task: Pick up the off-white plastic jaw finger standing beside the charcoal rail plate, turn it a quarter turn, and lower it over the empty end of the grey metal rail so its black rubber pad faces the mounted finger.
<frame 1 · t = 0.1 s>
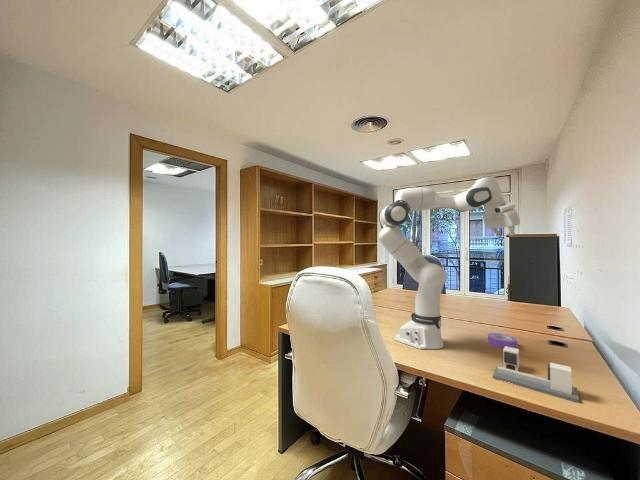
hand: (505, 235, 126), 52 cm above the table, tool tilted 20°, fingers open, 8 cm apart
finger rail: (532, 384, 89), on the table
masking tape: (502, 345, 125), on the table
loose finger: (511, 367, 102), on the table
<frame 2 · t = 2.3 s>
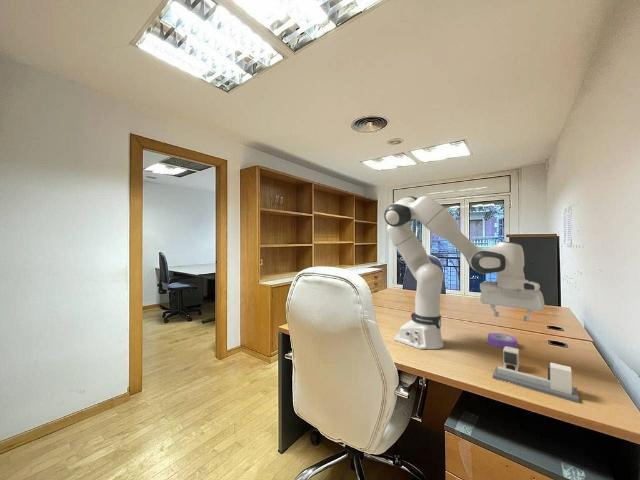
hand: (510, 318, 102), 19 cm above the table, tool pointing down, fingers open, 8 cm apart
nothing on the table moved.
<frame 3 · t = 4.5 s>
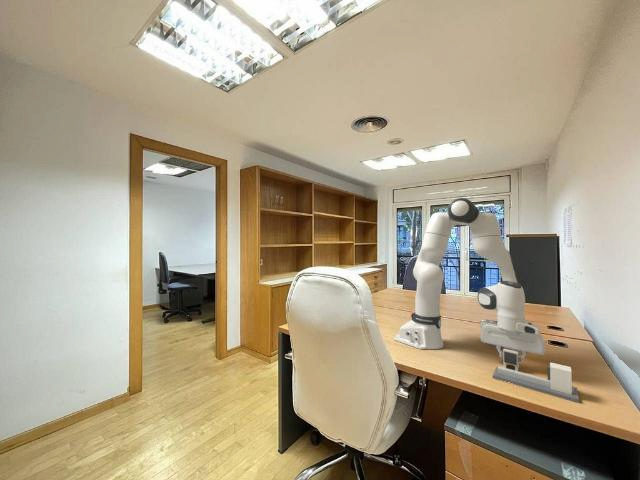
hand: (511, 359, 102), 3 cm above the table, tool pointing down, fingers closed on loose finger, 4 cm apart
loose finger: (511, 367, 102), on the table, touching gripper
everything else where it was.
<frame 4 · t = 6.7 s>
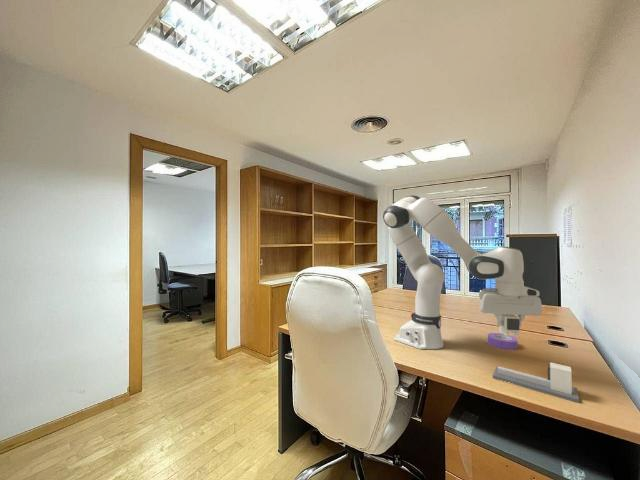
hand: (509, 325, 99), 17 cm above the table, tool pointing down, fingers closed on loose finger, 4 cm apart
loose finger: (509, 334, 99), point 14 cm above the table, touching gripper
everything else where it was.
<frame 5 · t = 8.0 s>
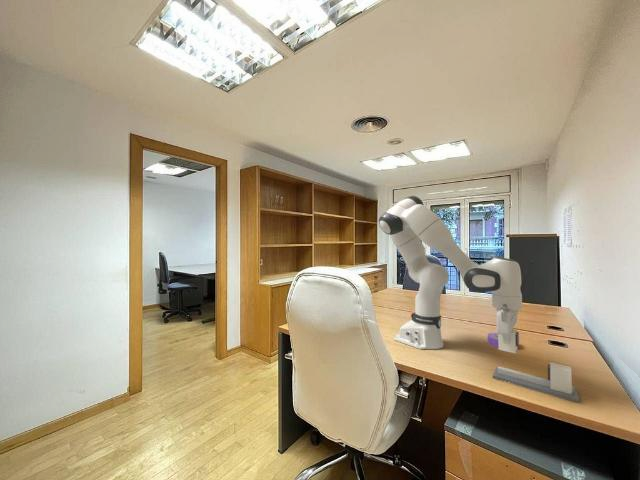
hand: (507, 341, 94), 13 cm above the table, tool pointing down, fingers closed on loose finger, 4 cm apart
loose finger: (507, 349, 94), point 10 cm above the table, touching gripper
everything else where it was.
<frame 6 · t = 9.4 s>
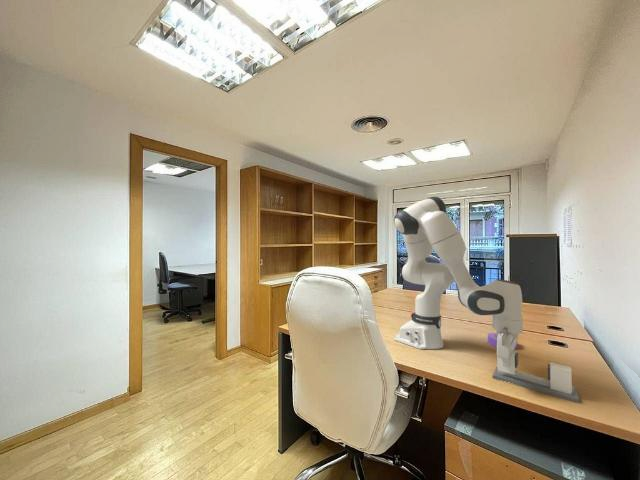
hand: (507, 363, 94), 5 cm above the table, tool pointing down, fingers closed on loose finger, 4 cm apart
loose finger: (506, 370, 94), point 3 cm above the table, touching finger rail, gripper
everything else where it was.
when the fingers open (5 cm above the table, at t = 9.5 s): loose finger drops 2 cm, resting on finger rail.
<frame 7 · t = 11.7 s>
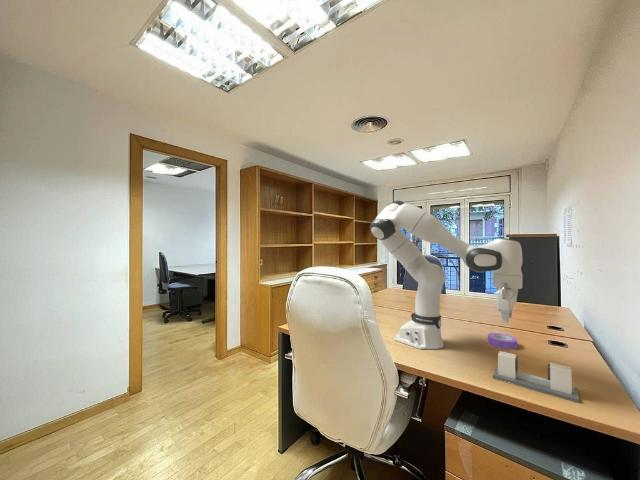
hand: (507, 320, 96), 20 cm above the table, tool pointing down, fingers open, 8 cm apart
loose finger: (507, 374, 94), point 1 cm above the table, touching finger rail
everything else where it was.
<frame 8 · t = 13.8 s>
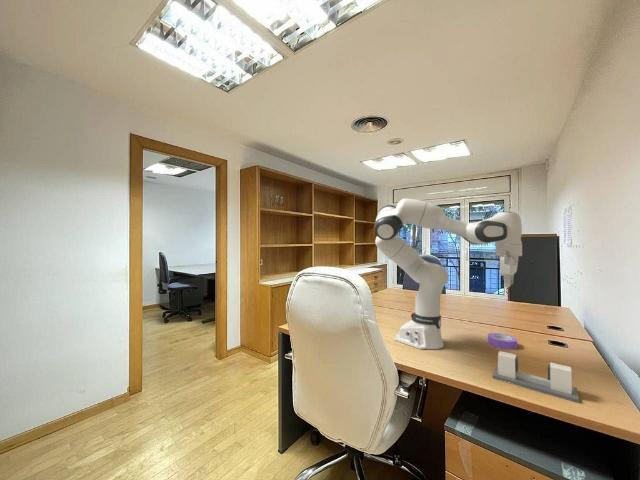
hand: (508, 285, 106), 31 cm above the table, tool pointing down, fingers open, 8 cm apart
nothing on the table moved.
at the end: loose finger 0.2 cm from the target spot, point 1.0 cm above the table; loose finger tilted 0°; the gripper is holding nothing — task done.
